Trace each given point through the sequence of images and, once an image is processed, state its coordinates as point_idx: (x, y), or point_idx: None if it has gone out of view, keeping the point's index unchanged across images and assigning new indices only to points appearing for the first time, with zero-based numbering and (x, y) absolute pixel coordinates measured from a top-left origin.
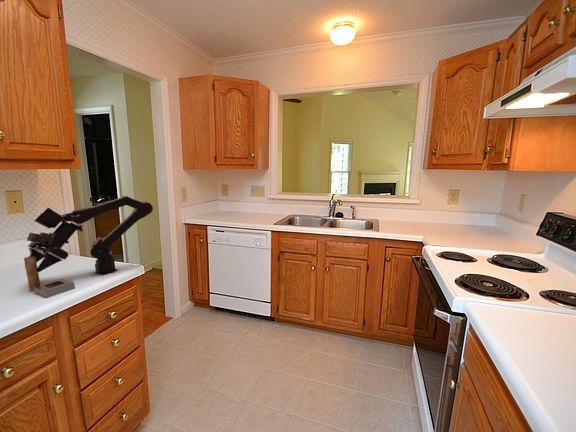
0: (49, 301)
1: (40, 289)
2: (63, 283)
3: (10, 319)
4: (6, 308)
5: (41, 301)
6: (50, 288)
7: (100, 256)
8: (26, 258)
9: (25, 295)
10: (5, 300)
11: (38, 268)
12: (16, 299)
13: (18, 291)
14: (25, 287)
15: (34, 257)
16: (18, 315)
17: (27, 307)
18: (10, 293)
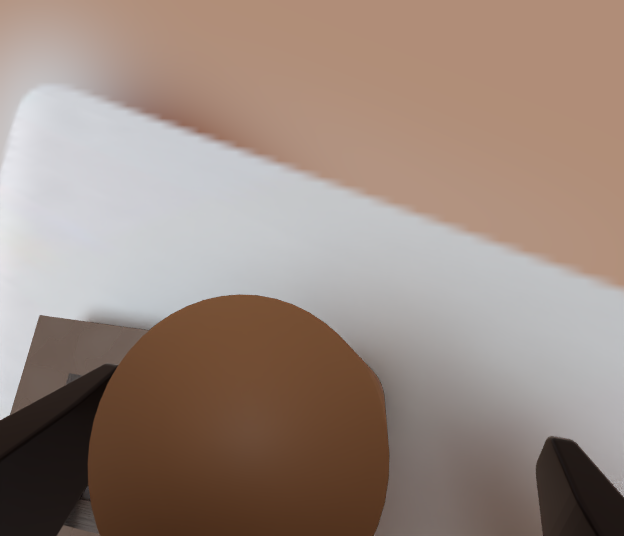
0: (22, 301)
1: (119, 326)
2: (72, 521)
3: (32, 97)
4: (196, 143)
5: (76, 282)
6: (54, 372)
7: None
8: (205, 332)
9: (306, 301)
10: (352, 196)
11: (60, 390)
12: (290, 235)
13: (474, 330)
14: (534, 415)
15: (107, 519)
16: (34, 132)
17: (81, 199)
18: (489, 280)
